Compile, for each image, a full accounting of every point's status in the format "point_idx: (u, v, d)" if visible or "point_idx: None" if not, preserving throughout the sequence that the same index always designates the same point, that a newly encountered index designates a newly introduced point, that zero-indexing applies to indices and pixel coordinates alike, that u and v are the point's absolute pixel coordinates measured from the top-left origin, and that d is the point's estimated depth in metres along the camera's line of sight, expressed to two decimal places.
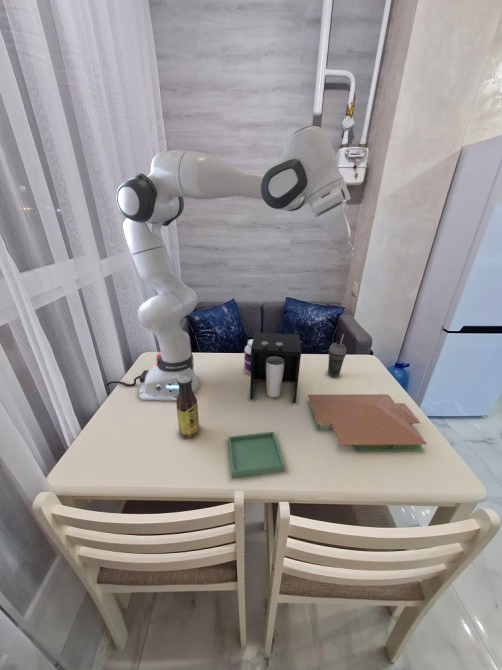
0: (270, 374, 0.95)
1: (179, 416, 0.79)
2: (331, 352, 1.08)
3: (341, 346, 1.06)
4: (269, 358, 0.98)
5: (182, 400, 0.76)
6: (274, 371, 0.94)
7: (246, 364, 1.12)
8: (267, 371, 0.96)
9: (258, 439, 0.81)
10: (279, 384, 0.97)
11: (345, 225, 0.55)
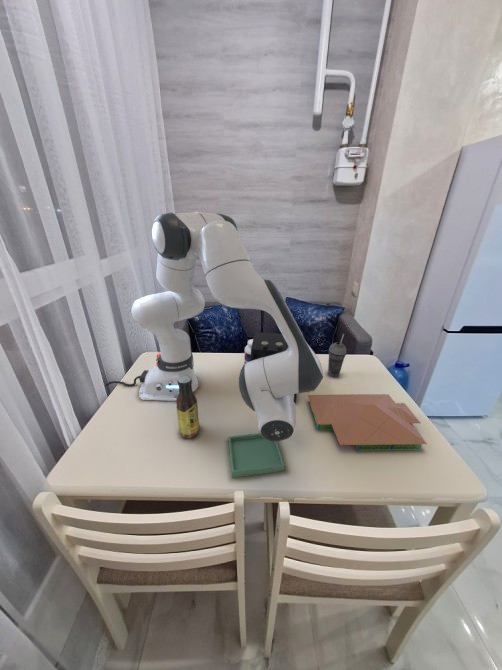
0: None
1: (179, 416, 0.79)
2: (331, 352, 1.08)
3: (341, 346, 1.06)
4: None
5: (182, 400, 0.76)
6: None
7: None
8: None
9: (258, 439, 0.81)
10: None
11: None
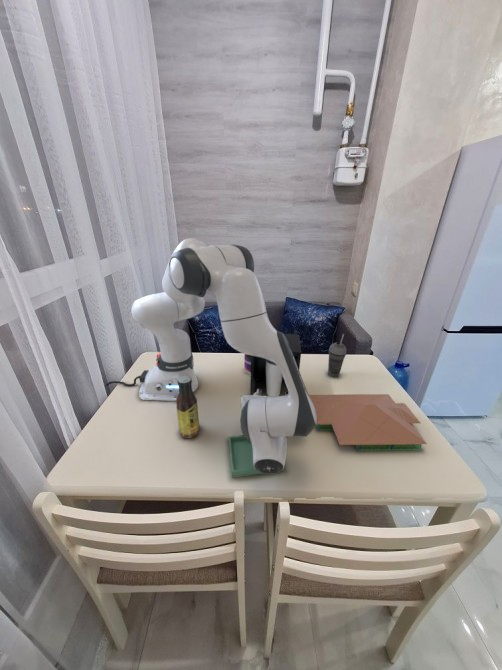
0: (270, 374, 0.95)
1: (179, 416, 0.79)
2: (331, 352, 1.08)
3: (341, 346, 1.06)
4: None
5: (182, 400, 0.76)
6: (274, 371, 0.94)
7: (246, 364, 1.12)
8: (267, 371, 0.96)
9: None
10: (279, 384, 0.97)
11: None
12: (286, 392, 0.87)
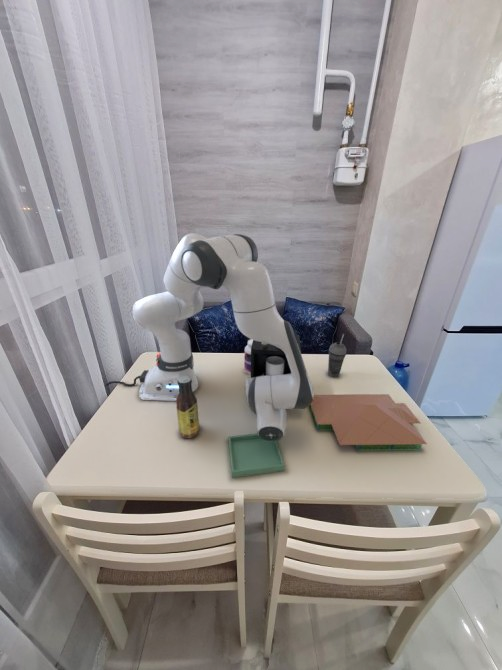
0: (270, 374, 0.95)
1: (179, 416, 0.79)
2: (331, 352, 1.08)
3: (341, 346, 1.06)
4: (269, 358, 0.98)
5: (182, 400, 0.76)
6: (274, 371, 0.94)
7: (246, 364, 1.12)
8: (267, 371, 0.96)
9: (258, 439, 0.81)
10: None
11: None
12: (283, 375, 0.98)
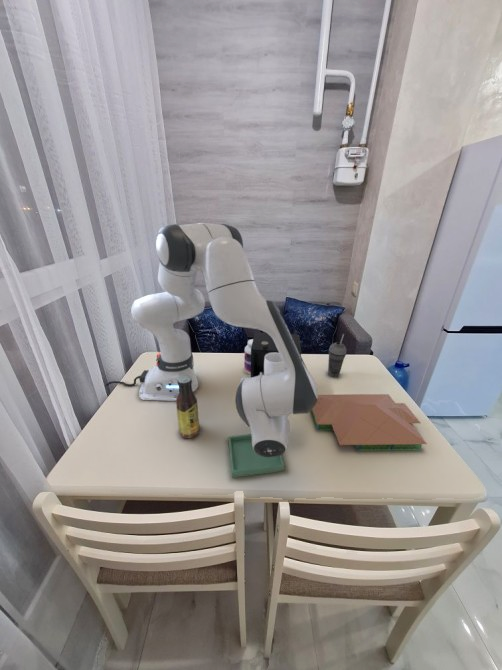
0: None
1: (179, 416, 0.79)
2: (331, 352, 1.08)
3: (341, 346, 1.06)
4: (268, 355, 0.83)
5: (182, 400, 0.76)
6: (274, 370, 0.78)
7: (246, 364, 1.12)
8: (266, 370, 0.80)
9: None
10: None
11: None
12: None
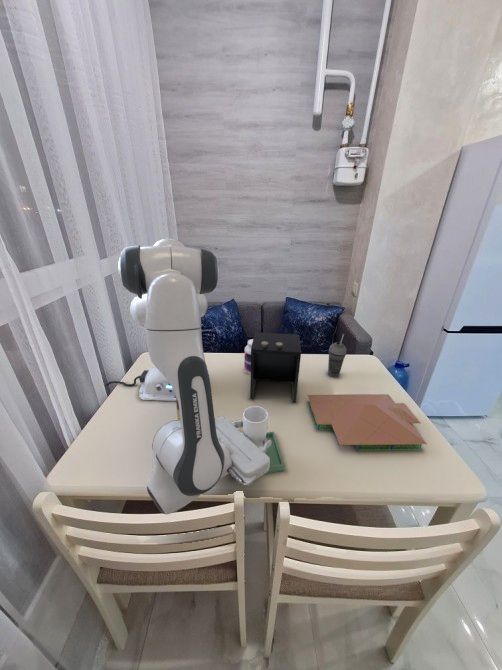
0: (243, 428, 0.71)
1: (179, 416, 0.79)
2: (331, 352, 1.08)
3: (341, 346, 1.06)
4: (255, 407, 0.72)
5: None
6: (245, 427, 0.69)
7: (246, 364, 1.12)
8: None
9: None
10: None
11: None
12: (266, 439, 0.69)
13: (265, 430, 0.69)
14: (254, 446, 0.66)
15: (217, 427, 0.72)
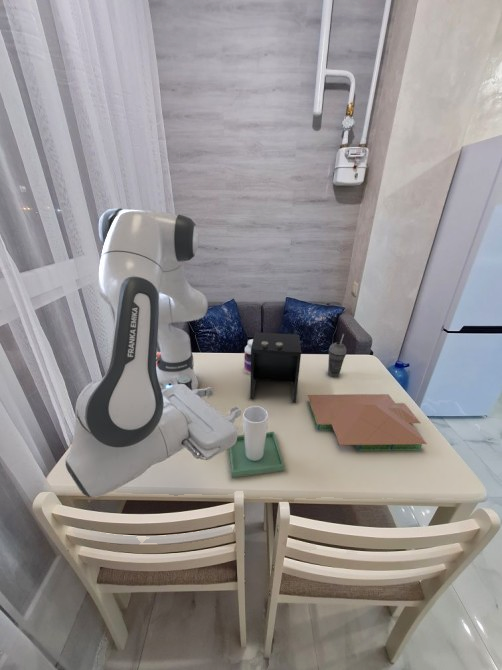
0: (243, 428, 0.71)
1: None
2: (331, 352, 1.08)
3: (341, 346, 1.06)
4: (255, 407, 0.72)
5: None
6: (245, 427, 0.69)
7: (246, 364, 1.12)
8: None
9: None
10: (254, 447, 0.71)
11: None
12: (234, 408, 0.56)
13: (265, 430, 0.69)
14: (219, 414, 0.53)
15: (174, 394, 0.58)
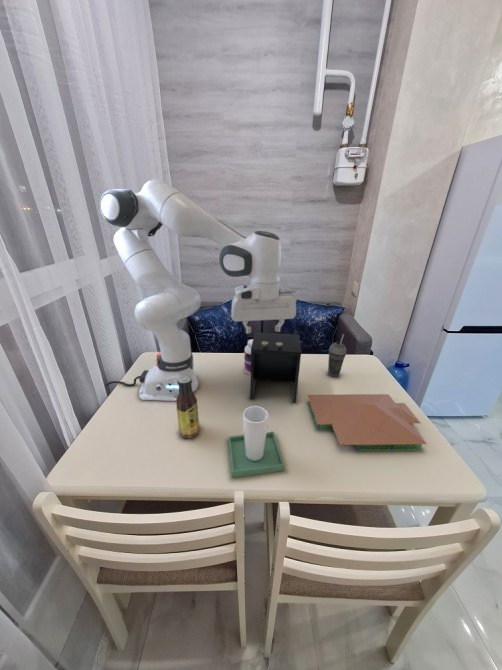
0: (243, 428, 0.71)
1: (179, 416, 0.79)
2: (331, 352, 1.08)
3: (341, 346, 1.06)
4: (255, 407, 0.72)
5: (182, 400, 0.76)
6: (245, 427, 0.69)
7: (246, 364, 1.12)
8: None
9: None
10: (254, 447, 0.71)
11: (232, 313, 0.78)
12: None
13: (265, 430, 0.69)
14: None
15: None
